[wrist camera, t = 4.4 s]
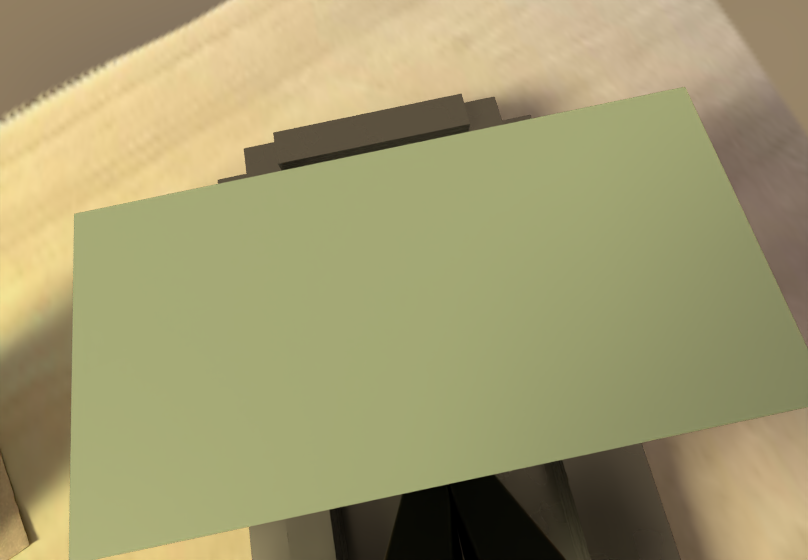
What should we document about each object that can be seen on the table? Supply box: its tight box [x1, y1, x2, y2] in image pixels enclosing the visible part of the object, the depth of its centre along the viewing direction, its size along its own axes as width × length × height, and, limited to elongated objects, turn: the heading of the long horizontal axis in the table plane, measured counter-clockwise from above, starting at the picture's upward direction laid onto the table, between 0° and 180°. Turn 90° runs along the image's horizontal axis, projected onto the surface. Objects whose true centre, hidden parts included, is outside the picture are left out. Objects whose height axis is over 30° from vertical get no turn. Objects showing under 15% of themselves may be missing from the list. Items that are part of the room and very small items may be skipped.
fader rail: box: [218, 94, 681, 560], centre depth 14 cm, size 18×12×4 cm, turn 12°
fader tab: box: [69, 87, 808, 560], centre depth 9 cm, size 5×6×11 cm
